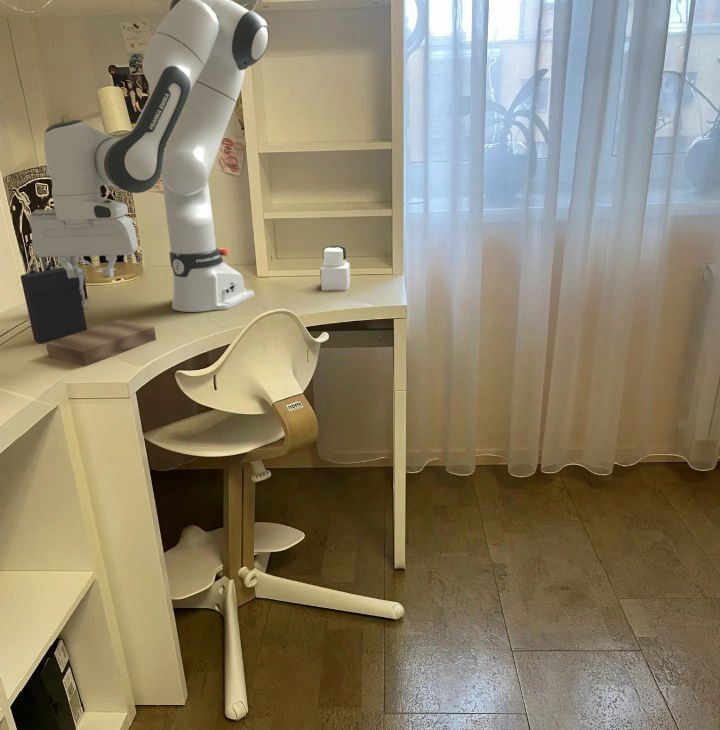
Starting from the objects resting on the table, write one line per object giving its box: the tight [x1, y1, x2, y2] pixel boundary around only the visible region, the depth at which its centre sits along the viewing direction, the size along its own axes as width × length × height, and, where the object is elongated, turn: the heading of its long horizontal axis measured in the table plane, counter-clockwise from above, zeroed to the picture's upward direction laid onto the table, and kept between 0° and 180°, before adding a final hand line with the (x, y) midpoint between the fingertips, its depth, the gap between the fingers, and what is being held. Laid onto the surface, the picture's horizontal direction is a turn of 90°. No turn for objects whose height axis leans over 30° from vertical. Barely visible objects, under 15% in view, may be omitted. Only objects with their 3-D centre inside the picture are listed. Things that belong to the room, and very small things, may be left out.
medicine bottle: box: [319, 245, 351, 291], centre depth 178 cm, size 7×7×12 cm
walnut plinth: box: [45, 319, 157, 367], centre depth 140 cm, size 18×12×3 cm, turn 149°
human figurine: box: [58, 256, 100, 310], centre depth 167 cm, size 12×4×18 cm, turn 139°
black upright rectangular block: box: [20, 267, 88, 344], centre depth 147 cm, size 11×4×15 cm, turn 138°
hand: (91, 277), depth 135 cm, fingers open, 6 cm apart
